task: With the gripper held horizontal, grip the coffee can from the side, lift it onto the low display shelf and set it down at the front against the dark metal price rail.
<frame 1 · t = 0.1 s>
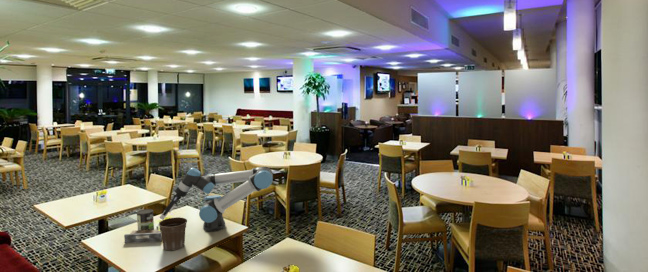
hand: (164, 215, 230), 15 cm above the table, tool tilted 35°, fingers open, 13 cm apart
display shelf: (147, 237, 231), on the table
coffee can: (146, 231, 242), on the table
plant pot: (174, 246, 218), on the table
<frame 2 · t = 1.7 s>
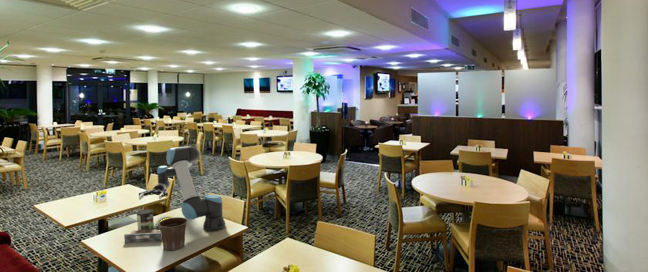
hand: (149, 197, 249), 21 cm above the table, tool horizontal, fingers open, 13 cm apart
nothing on the table moved.
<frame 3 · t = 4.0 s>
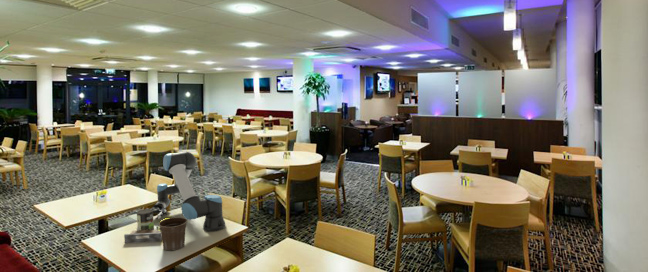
hand: (148, 217, 247), 7 cm above the table, tool horizontal, fingers open, 13 cm apart
nothing on the table moved.
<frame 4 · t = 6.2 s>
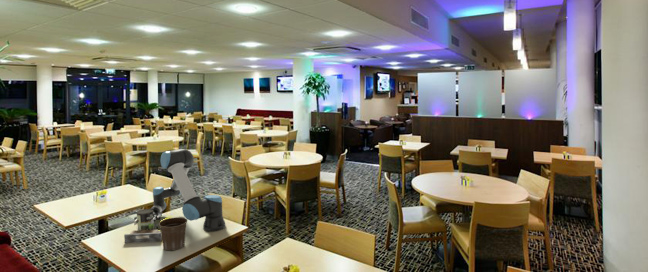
hand: (143, 222, 237), 8 cm above the table, tool horizontal, fingers closed on coffee can, 10 cm apart
coffee can: (146, 231, 242), on the table, touching gripper
everything else where it was.
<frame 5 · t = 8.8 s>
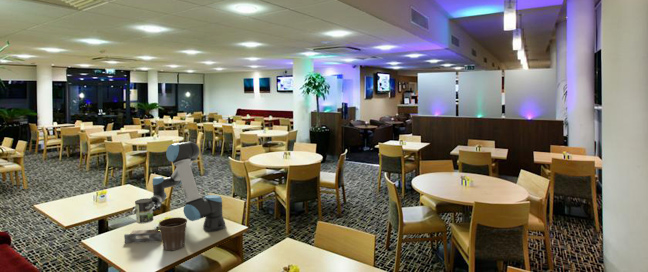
hand: (141, 212, 228), 18 cm above the table, tool horizontal, fingers closed on coffee can, 10 cm apart
coffee can: (145, 221, 233), point 10 cm above the table, touching gripper
everything else where it was.
when the fingers open (11 cm above the table, at t = 11.2 s): coffee can stays where it is, resting on display shelf.
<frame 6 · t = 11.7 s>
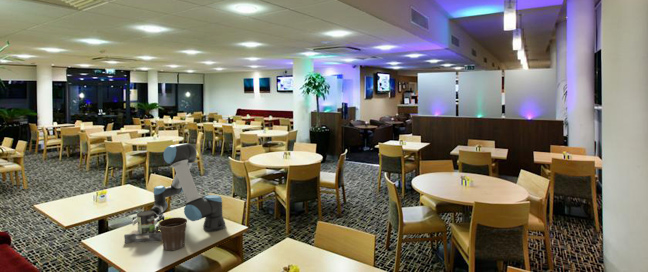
hand: (144, 223, 226), 11 cm above the table, tool horizontal, fingers open, 13 cm apart
coffee can: (146, 233, 230), point 3 cm above the table, touching display shelf
everything else where it was.
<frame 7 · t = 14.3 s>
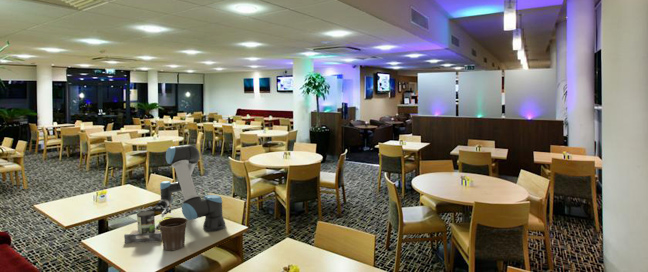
hand: (151, 215, 239), 12 cm above the table, tool horizontal, fingers open, 13 cm apart
nothing on the table moved.
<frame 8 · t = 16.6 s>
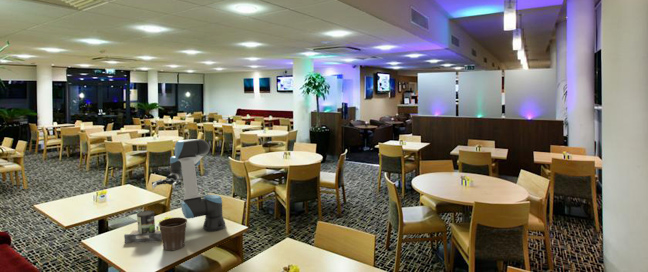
hand: (163, 186, 245), 30 cm above the table, tool horizontal, fingers open, 13 cm apart
nothing on the table moved.
at the end: coffee can 0.2 cm from the target spot, point 2.8 cm above the table; coffee can tilted 0°; the gripper is holding nothing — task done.
